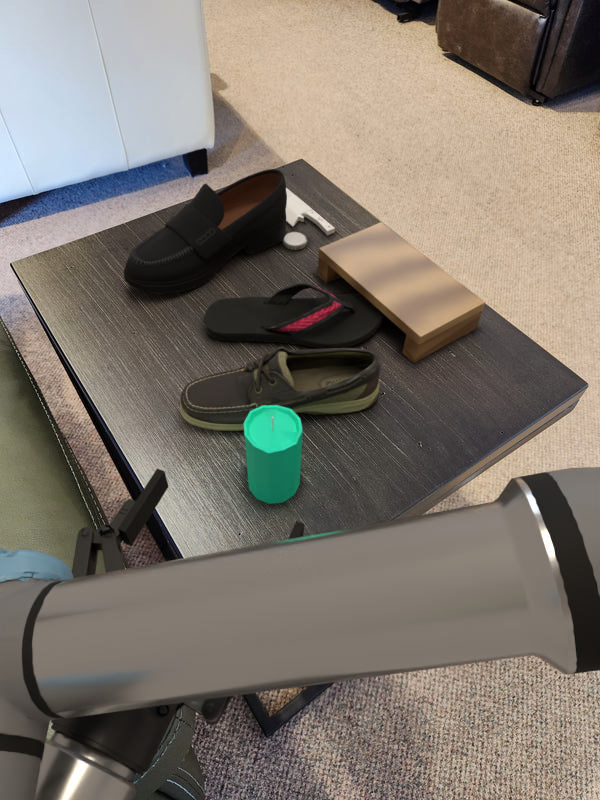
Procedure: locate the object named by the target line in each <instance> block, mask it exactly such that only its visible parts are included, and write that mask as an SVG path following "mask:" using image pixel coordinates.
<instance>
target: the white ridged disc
mask: <svg viewBox="0 0 600 800" xmlns="http://www.w3.org/2000/svg"><path fill="white" fill-rule="evenodd" d="M281 243H282V245H283V246H284V247H285V248H287V249H288V250H292V251H297V250H302V249H305V248H306V246H307V245H308V237H307V236H306V234H304V233H302V232H300V231H290V232H286V235H285V237H284V240H283V241H282V242H281Z"/></svg>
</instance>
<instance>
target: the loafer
mask: <svg viewBox="0 0 600 800" xmlns="http://www.w3.org/2000/svg"><path fill="white" fill-rule="evenodd" d="M286 188H287V182H286V177H285V175H284V172H282V171H281V170H279V169H276V168H268V169H264V170H260V171H258V172H254V173H252V174H249V175H247V176H244V177H243V178H241V179H239V180H237V181H234V182H233V183H231V184H229V185H228V186H226V187H225V188H222V189H221V190H220V191H218V192H216V191H215V190H214V189H213V188H212V187H211V186H209V185H208V183H203V184H202V185H201V187H200V188H199V190H198V191H197V192H196V194H195V196H194V197H193V199H192V200H191V201H190V202H189V203H186V204H185V205H184V206H183V207H182V208H181V209H180V210H179V211H178V212H177V213H176V214H175V215H173V217H172V218H171V219H169V220H168V221H167V222H166V223H165V226H164V227H162V228H160V229H159V230H157V231H156V232H154V233H153V234H151V235H150V236H149V237H147V238H145V239H143V240H142V241H141V242H139V243H138V244H137V245H136V246H135V247H134V248H133V249H132V250H131V251H130V255H129V256H128V258H127V260H126V262H125V267H124V269H123V278H124V281H125V282H126V283H127V284H128V285H129V286H130V287H132V288H133V289H136V290H137V291H138V290H139V291H141V292H146V293H147V294H148V293H149V294H175V293H181V292H185V291H189V290H192V289H194V288H196V287H199V286H201V285H204V284H205V283H207V282H208V281H209V280H210V279H211V278H212V277H213V276H214V275H215V274H216V273H217V272H218V270H220V268H221V267H222V266H223V265H224V264H225V263H227V262H228V260H229V259H230V258H232V257H233V256H235V255H236V254H237V253H239V252H240V251H242V250H244V249H245V250H246V252H247V253H248V254H253V253H257V252H258V251H264V250H266V249H268V248H269V247H275V246H277V245H279V244H281V243H283V242H282V241H283V240H284V237H285V235H286V234H287V221H286V204H287V193H286Z"/></svg>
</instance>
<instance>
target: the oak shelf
mask: <svg viewBox="0 0 600 800" xmlns="http://www.w3.org/2000/svg"><path fill="white" fill-rule="evenodd" d="M317 276H318V277H319V278H320V279H321V280H322V281H323V282H324V283H326V284H328V283H331V282H332V281H335V280H338V279H339V278H342V279H343V280H344V281H346V282H347V283H348V284H349V285H350V286H351V287H353V288H354V289H355V290H356V291H357V292H358V294H362V295H363V296H364V297H365V298H366V299H367V300H368V301H370V302H371V303H372V304H373V305H374V306H375V307H376V308H378V309H379V310H380V311H381V312H382V313H383V314H384V317H387V319H388V320H390V322H392V323H393V324H394V325H395V326H396V327H398V328H399V329H400V330H401V331H402V332H403V333H404V334H405V339H404V344H403V348H402V351H401V352H402V354H403V355H404V356H405V357H406V358H408V359H409V361H411V362H412V363H413V364H415V363H416V362H418V361H420V360H422V359H424V358H426V357H427V356H429V355H431V354H433V353H435V352H437V351H438V350H440V349H442V348H444V347H446V346H448V345H449V344H450V343H452V342H454V341H456V340H458V339H460V338H462V337H464V336H465V335H467V334H469V333H470V332H472V331H474V330H476V329H477V327H478V325H479V322H480V320H481V317H482V313H483V312H484V311H483V310H484V308H485V305H486V301H485V300H483V299H482V298H481V297H480V296H478V294H475V292H473V291H472V290H471V289H469V288H468V287H467V286H466V285H464V284H463V283H461V282H460V281H459V280H458V279H456V278H455V277H453V275H451V274H450V273H448V272H447V271H446V270H445V269H443V268H442V267H441V266H439V265H438V264H437V263H436V262H434V261H432V259H430V258H428V256H426V255H425V254H423V253H422V251H420V250H419V249H417V248H415V247H414V246H413V245H412V244H411V243H409V242H408V241H407V240H405V239H404V238H403V237H402V236H400V235H399V234H398V233H396V232H395V231H394V230H392V228H390V227H388V226H387V225H386V224H385V223H383V222H382V221H381V222H380V221H379V222H377V223H375V224H373V225H371V226H369V227H366V228H363V229H361V230H359V231H356V232H354V233H351V234H349V235H347V236H345V237H342V238H340V239H338V240H335V241H333V242H330V243H328V244H325V245H324V246H321V247H319V248H318V259H317Z"/></svg>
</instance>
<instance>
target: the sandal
mask: <svg viewBox="0 0 600 800" xmlns="http://www.w3.org/2000/svg"><path fill="white" fill-rule="evenodd" d="M308 289H312V290H315V291H316V292H318V293H321V294H323V295H324V296H319V297H295V296H296V295H297V294H299V293H300V292H302V291H304V290H308ZM384 317H385V315H384V314H383V313H382V312H381V311H380V310H379V309H378V308H376V307H375V306H374V305H373V304H372V303H371V302H370V301H368V300H367V299H366V298H365V297H364V296H363V295H362V294H361V293H344V294H343V293H342V294H334V295H333V293H330V292H329V291H326V290H324V289H322V288H320V287H318V286H316V285H312V284H310V283H305V282H304V283H303V282H302V283H301V282H300V283H296V284H293V285H290V286H287V287H284V288H281V289H279V290H278V291H276V292H275V293H273V294H272V295H271V296H243V297H228V298H227V297H226V298H220V299H218V300H215V301H213V302H212V303H211V304H210V305H209V306H208V307H207V308H206V311H205V315H204V324H205V327H206V328H205V329H206V331H207V332H208V335H210V336H211V337H212V338H213V339H215V340H219V341H225V342H226V341H227V342H268V343H269V342H270V343H282V344H292V345H299V346H305V347H310V348H314V349H330V348H351V347H353V346H356V345H358V344H360V343H362V342H365V341H366V340H367V339H369V338H370V337H372V336H373V335H374V334H375V333H376V332H377V330H378V329H379V328H380V326H381V324H382V322H383V321H384Z"/></svg>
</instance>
